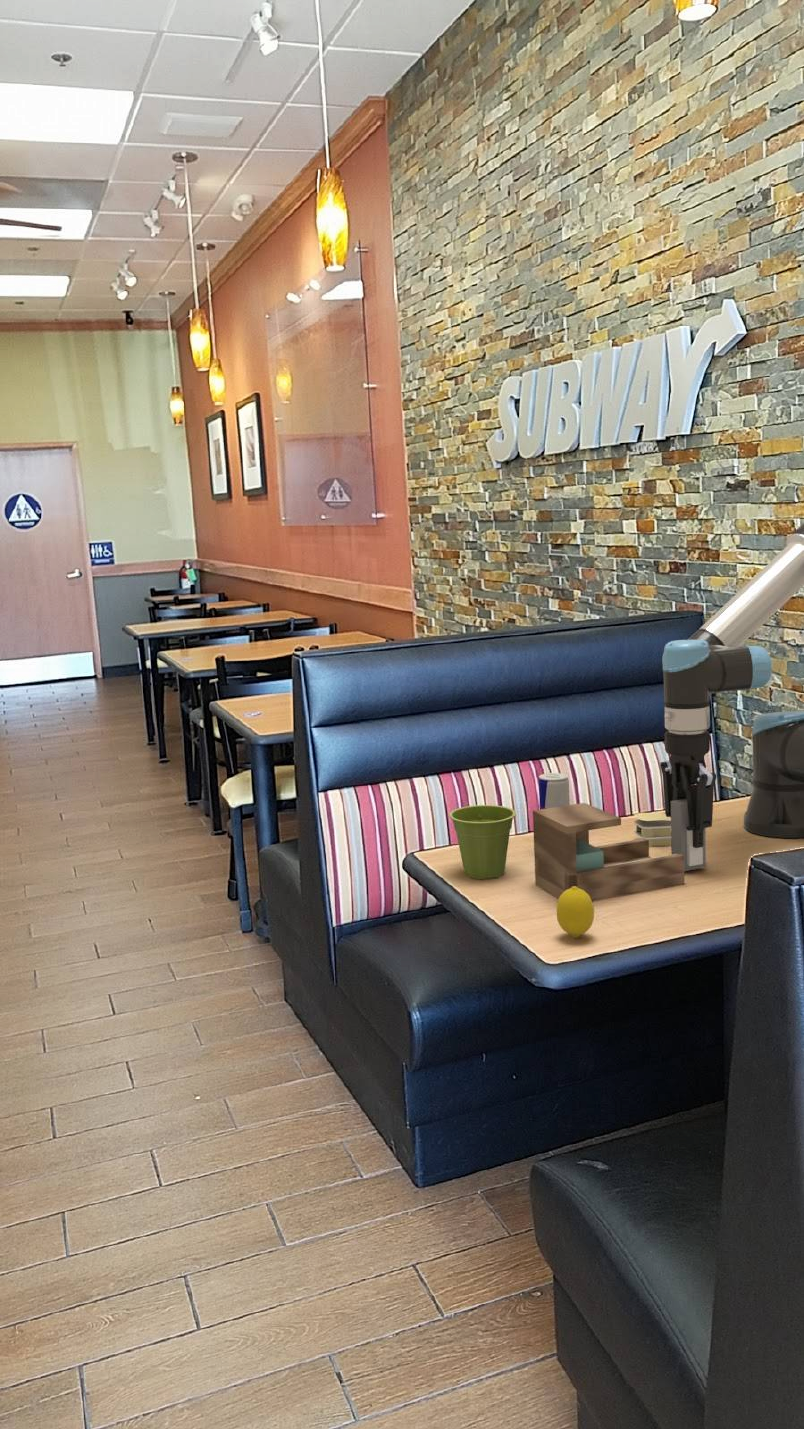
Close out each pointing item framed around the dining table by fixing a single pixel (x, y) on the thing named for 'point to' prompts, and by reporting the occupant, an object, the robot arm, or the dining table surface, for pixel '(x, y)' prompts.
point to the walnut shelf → (559, 858)
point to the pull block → (679, 821)
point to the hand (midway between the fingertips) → (688, 861)
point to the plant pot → (483, 838)
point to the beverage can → (553, 790)
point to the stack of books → (654, 828)
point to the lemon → (575, 911)
